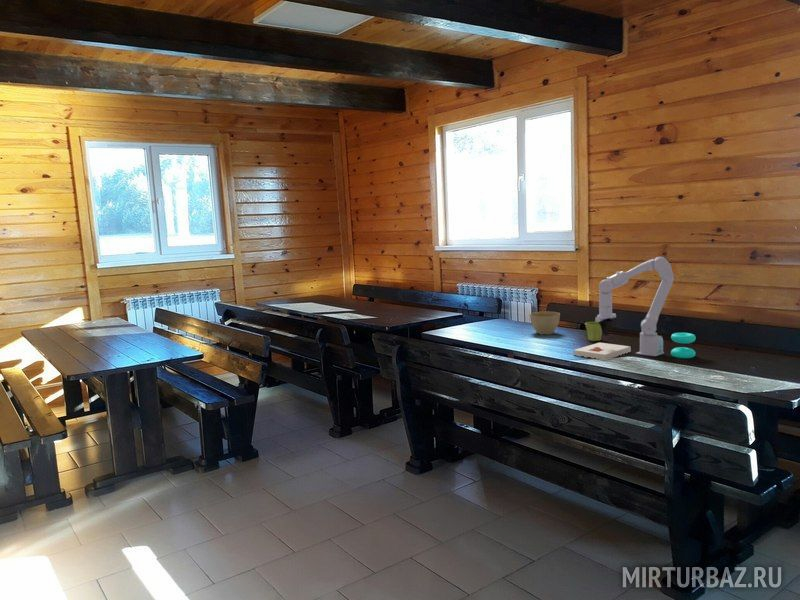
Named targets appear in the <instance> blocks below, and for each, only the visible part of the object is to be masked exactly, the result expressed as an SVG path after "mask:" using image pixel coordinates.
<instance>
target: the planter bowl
mask: <svg viewBox="0 0 800 600" xmlns="http://www.w3.org/2000/svg"><path fill="white" fill-rule="evenodd" d="M560 316H561V313H560V312H557V311H537V312H536V311H535V312H531V313H529V319H530V322H531V323H530V324H531V325H532V328H533V329H534V330H535V332H536V334H537V333H539V334H538V335H543V334H546V335H552V334H554V333H555V331H556V329H557V328H558V326H559V323H560V318H561V317H560Z"/></svg>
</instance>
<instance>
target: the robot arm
mask: <svg viewBox="0 0 800 600" xmlns="http://www.w3.org/2000/svg"><path fill="white" fill-rule="evenodd" d="M672 269H673V268H672V265H671V263H670V262H669V261H668V259H666V258H665V257H664V256H656V257H655V258H651V259H648V260H647V261H644V262H642V263H639V264H638V265H636V266H635V267H633V268H631V269H629V270H628V271H623V270H621V271H619V270H618V271H615V274H613V275H611V276H607V277H606V279H603V280H601V281H600V282H599V285H598V290H599V292H598V293H599V294H598V295H599V296H598V297H599V298H598V305H599V306H598V311H599V313H598V314H597V315H596V317H595V318H594V319H595V320H594V322H598V323H599V324H600V326H601V329H602V335H603V336H610V335H609V334H610V331H611V328H612V325H613V323H614V319H615V318H617V314H616V313H613V295H612V290H613V289H617V288H618V287H622V286H623V285H625V284H628V283H629V279H630V278H633V277H635V276H637V275H640V274H641V273H644V272H648V271H650V272H654V270H655V271H656V272H657V273H658V275H659V277H660V278H661V282H660V284H659V286H658V288H657V291H656V293H655V295H654V298H653V300H652V303H651V306H650V308H649V310H648V312H647V314H646V315H645V317H644V319H642V320H641V321H640V329H641V332H639V351H637V352H635V354H637V355H643V356H649V357H657V356H660V355H664V354H665V352H664V339H663V336H662V335H658V332H656V331H657V324H658V321H659V317H660V314H661V312H662V310H663V307H664V304H665V303H666V300H667V297H668V295H669V294H670V293H669V292H670V290H671V288H672V285H673V283H674V280H675V278H674V273H673V270H672Z"/></svg>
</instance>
